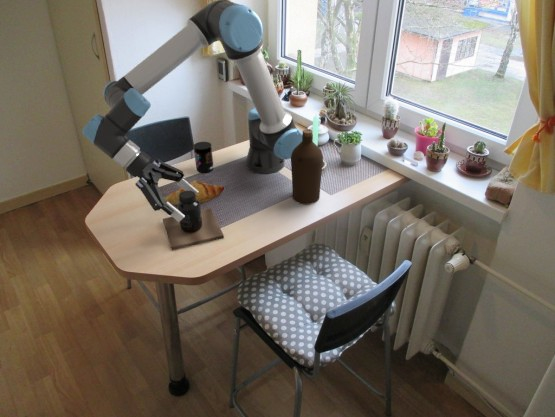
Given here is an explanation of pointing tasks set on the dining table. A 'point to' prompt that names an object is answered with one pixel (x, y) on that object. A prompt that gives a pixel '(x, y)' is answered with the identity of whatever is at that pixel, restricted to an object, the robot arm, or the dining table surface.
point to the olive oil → (306, 170)
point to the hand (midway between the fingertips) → (189, 206)
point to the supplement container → (203, 157)
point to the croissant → (202, 196)
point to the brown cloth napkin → (185, 239)
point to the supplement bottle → (189, 212)
